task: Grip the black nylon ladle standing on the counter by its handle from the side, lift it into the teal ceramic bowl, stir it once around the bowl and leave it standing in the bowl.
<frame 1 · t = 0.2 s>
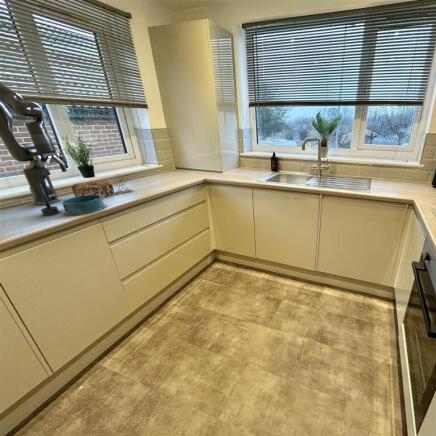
hand: (56, 173, 133), 17 cm above the countertop, tool pointing down, fingers open, 8 cm apart
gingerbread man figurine: (124, 192, 158), on the countertop
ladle: (51, 213, 122), on the countertop
bowl: (86, 209, 127), on the countertop
bread: (96, 197, 149), on the countertop
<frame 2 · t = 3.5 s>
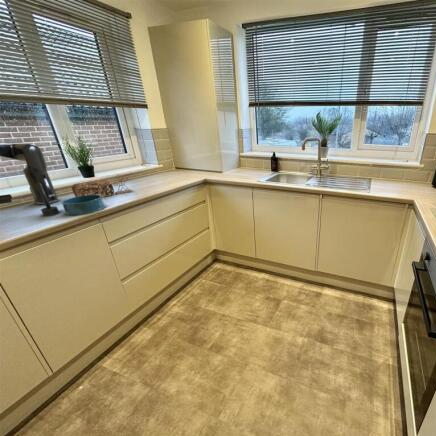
hand: (11, 198, 111), 11 cm above the countertop, tool horizontal, fingers open, 8 cm apart
nothing on the countertop moved.
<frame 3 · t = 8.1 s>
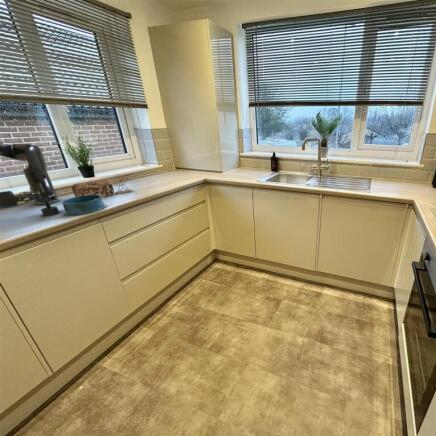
hand: (51, 192, 120), 10 cm above the countertop, tool horizontal, fingers closed on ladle
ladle: (51, 213, 122), on the countertop, touching gripper
everything else where it was.
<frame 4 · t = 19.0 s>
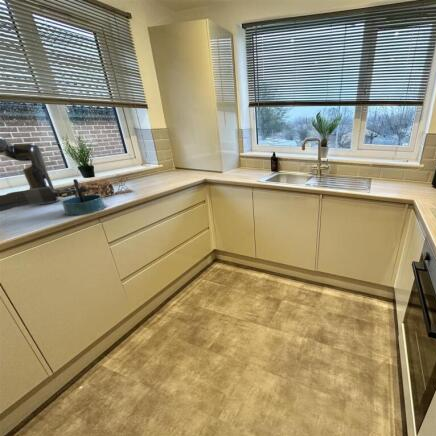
hand: (85, 188, 125), 11 cm above the countertop, tool horizontal, fingers open, 3 cm apart
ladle: (85, 208, 127), point 1 cm above the countertop, touching bowl
everything else where it was.
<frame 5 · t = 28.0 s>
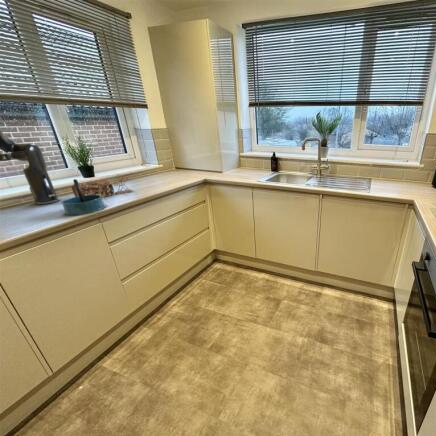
hand: (24, 154, 107), 30 cm above the countertop, tool horizontal, fingers open, 8 cm apart
nothing on the countertop moved.
at the end: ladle inside the target area in the bowl (0.2 cm from its centre), point 0.6 cm above the bowl's base; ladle moved 14.7 cm from its start; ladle tilted 0° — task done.
